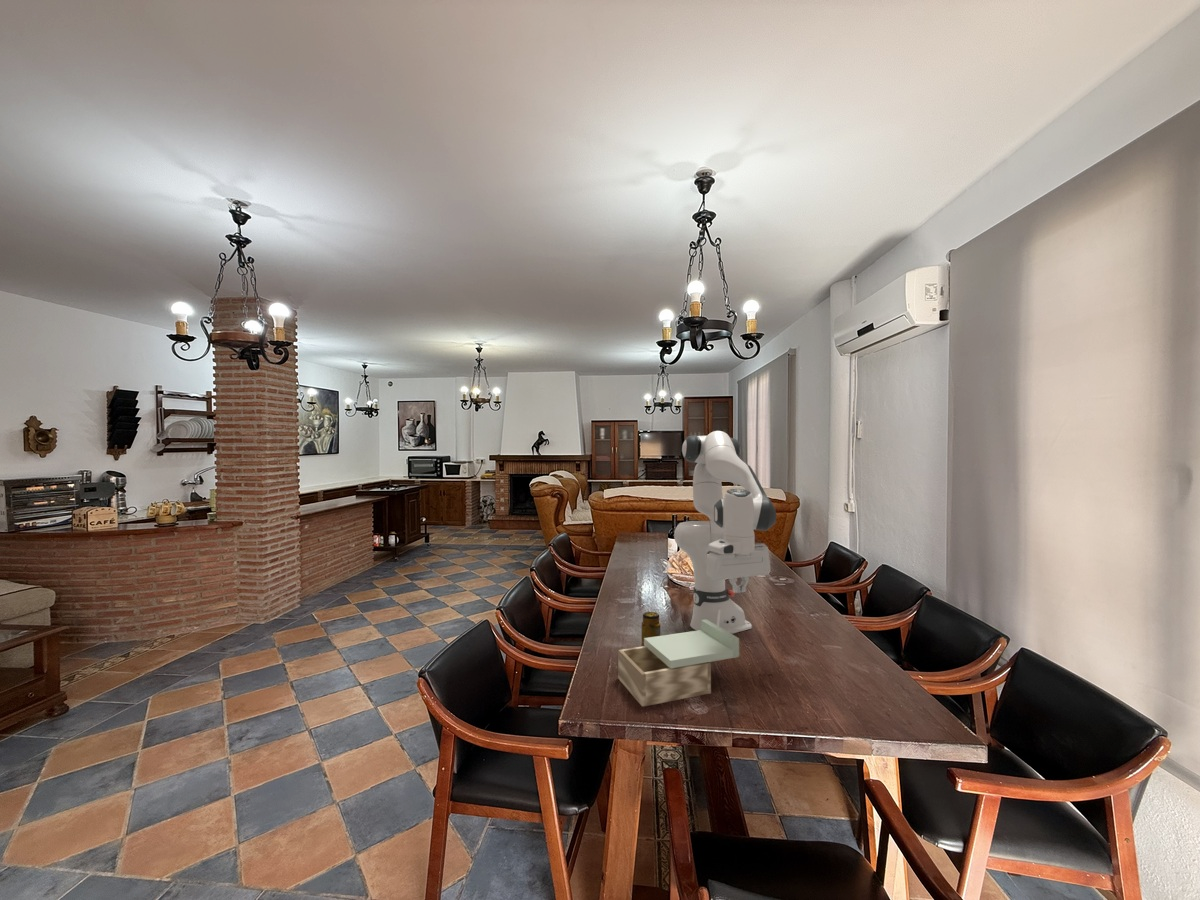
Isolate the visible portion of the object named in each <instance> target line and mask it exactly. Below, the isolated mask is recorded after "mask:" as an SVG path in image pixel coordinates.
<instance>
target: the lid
mask: <svg viewBox="0 0 1200 900" xmlns="http://www.w3.org/2000/svg"><path fill="white" fill-rule="evenodd" d="M644 646H645V647H647V648H648V649H649V650H650V651H651V652H652V653H653V654H655V655H656V656H657V657H658V658H659V659H660V660H661V661H663V662H664V663H665V664H666V665H667V666H668V667H669V668H670V669H671V668H677V667H683V666H689V665H694V664H700V663H706V662H710V663H712V662H718V661H722V660H723V661H724V660H727V659H728V660H730V659H735V658H739V657H740V638H739V637H737V635H734V633H733V634H731V633H729V632H727V631H726V630H724V629H722V628H721V627H719V626H717V625H715V624H714V623H712V622H710V621H709V620H707V619H705V620H701V630H698V631H697V630H691V631H686V632H679V633H670V634H663V635H660V636H656V637H649V638H644Z"/></svg>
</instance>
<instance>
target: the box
mask: <svg viewBox="0 0 1200 900" xmlns="http://www.w3.org/2000/svg"><path fill="white" fill-rule="evenodd" d="M617 651H618V653H617V655H618V657H617V658H618V660H617V661H618V667H617V670H618V673H617V678H618V680H619V681H620V682H621V683H622V685H623V686H624V687H625V688H626V689H627V691H628V692H629V693H630V695H632V697H633V698H634V699H635V700H636V701H637V702H638V704H640V706H641V707H648V706H653V705H654V706H655V705H658V704H663V703H664V704H665V703H669V702H673V701H678V700H683V699H688V698H689V699H690V698H693V697H698V696H703V695H704V696H705V695H709V694H711V693H712V664H711V663H712V662H706V663H700V664H694V665H689V666H683V667H677V668H671V669H670V668H669V667H668V666H667V665H666V664H665V663H664V662H663V661H661V660H660V659H659V658H658V657H657V656H656V655H655V654H653V653H652V652H651V651H650V650H649V649H648V648H647V647H645V646H642V645H641V646H637V647H630V648H623V649H622V648H621V649H618V650H617Z"/></svg>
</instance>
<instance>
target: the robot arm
mask: <svg viewBox="0 0 1200 900" xmlns="http://www.w3.org/2000/svg"><path fill="white" fill-rule="evenodd" d="M740 444H741V443H740V442H739V440H738V439H736V438H733V437H730V435H729V434H728V433H726V432H725V431H721V430H714V431H712V432H709V434H707V435H696V434H695V435H689V436H687V437H686V438H685V439H684V440H683V443H682V445H681V452H682V456H683V459H684V460H685V461H686V462H690V463H696V465H695V467H694V471H693V477H692V497H693V498H692V499H693V500H692V501H693V502H692V503H693V507H694V509H695V510H696V511H697V512H698V513H700V514H703V515H705V516H706V517H708V519H709V520H688V521H683V522H679V523H678V524H677V526H676V527H675V529H674V534H673V537H674V541H675V543H676V545H677V547H678V548H679V549H680V550H682V551H683V552H684V553H685V554H686V555H687V556H688V558H689V559H690V562H691V565H692V568H693V578H694V581H693V582H694V587H693V590H692V592H693V593H692V595H693V596H692V597H693V598H692V599H693V608H692V609H693V610H692V617H691V621H690V623H689V624H690V625H689V626H690V627H691V629H693V630H694V631H698V630H701V620H705V619H707V620H709V621H710V622H712V623H714V624H715V625H717V626H719V627H721V628H722V629H724V630H726V631H727V632H729V633H731V634H733V635H734V634H737V633H739V632H744V631H746V630H751V629H753V625H752V623H751V622H750V621H748V620H746V615H745V612H744V609H743V608H742V607H741V606H740V605H738V604H737V603H735V601H733V600H732V599H731V598H730V597H735V595H736V594H739V593H745V592H747V589H746V588H747V586H748V584H749V581H750V577H757V576H759V577H760V576H767V575H769V574H770V573H771V560H770V555H769V547H768V546H767V545H766V544H765V543H764V542H759V543H756V542H755V541H756V540H755V539H756V537H755V531H762V532H767V531H768V530H769V529H771V528H772V527H773V526H774V525H775V523H776V522H777V512H776V507H775V505H774V504H773V502H772V501H771V499H770V498H769V497H768V496H767V494H766V492H765V489H764V488H763V486H762V484H761V482H760V481H759V479H758V477H757V475H756V473H755V472H754V470H753V468H752V467H751V465H749V464H747V463H746V462H744V460H742V459H741V458H740V455H741V445H740ZM722 481H723V482H727V483H728V482H729V483H732V484H735V485H739V486H741V488H730V489H727V490H726V491H725V493H724V497H723V485H722ZM754 530H755V531H754ZM738 578H740V579H741V581H740V584H737V582H738ZM726 580H728V581H729V582H730V584H731V587H732V589H729V590H728V589H727V588H726Z"/></svg>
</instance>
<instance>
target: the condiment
mask: <svg viewBox="0 0 1200 900" xmlns="http://www.w3.org/2000/svg"><path fill="white" fill-rule="evenodd" d="M656 636H662V635H661V622H660V615H659V613H657V612H654V611H647V612H643V614H642V622H641V647H642V646H644V638H649V637H656Z"/></svg>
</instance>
